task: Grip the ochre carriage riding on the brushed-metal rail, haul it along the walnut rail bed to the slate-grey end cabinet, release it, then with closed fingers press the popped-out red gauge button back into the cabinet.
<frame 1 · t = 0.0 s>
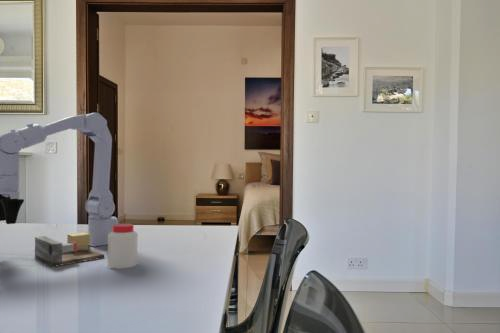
hand: (6, 222, 114), 10 cm above the table, fingers open, 7 cm apart
pill bottle: (122, 265, 108), on the table
carriage: (78, 241, 119), point 4 cm above the table, slide at -3.5 cm
gauge plunger: (66, 247, 109), point 4 cm above the table, slide at 0.0 cm
rail bed: (70, 257, 115), on the table
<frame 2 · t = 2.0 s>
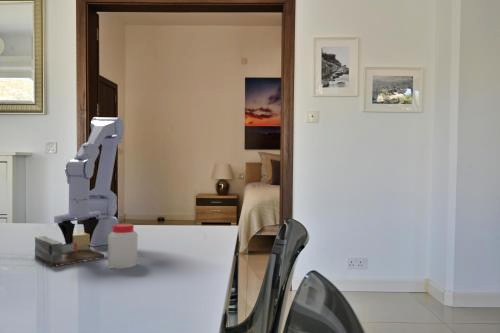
hand: (78, 244, 119), 3 cm above the table, fingers closed on carriage, 6 cm apart
carriage: (78, 241, 119), point 4 cm above the table, slide at -3.5 cm, touching gripper
everything else where it was.
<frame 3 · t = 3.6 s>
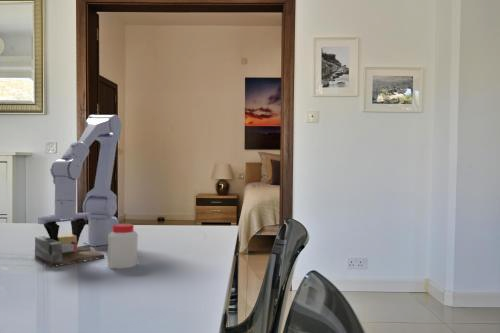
hand: (64, 246, 116), 3 cm above the table, fingers open, 5 cm apart
carriage: (65, 243, 116), point 4 cm above the table, slide at 0.4 cm, touching gripper
everything else where it was.
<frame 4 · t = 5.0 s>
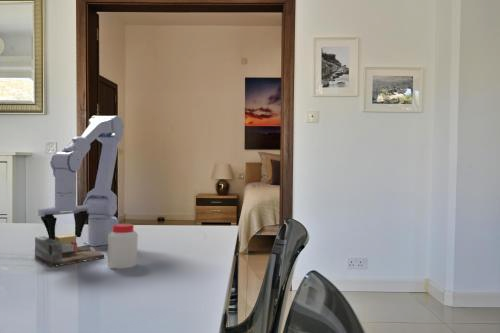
hand: (65, 238, 116), 5 cm above the table, fingers open, 7 cm apart
carriage: (64, 243, 116), point 4 cm above the table, slide at 0.5 cm
everything else where it was.
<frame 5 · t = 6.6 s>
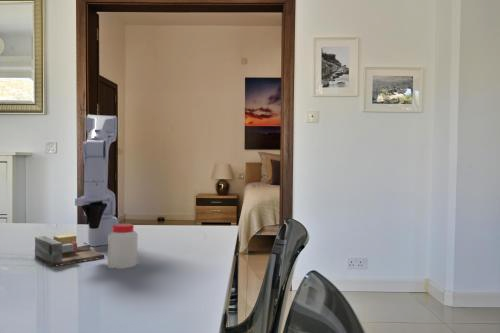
hand: (94, 228, 114), 9 cm above the table, fingers closed
nothing on the table moved.
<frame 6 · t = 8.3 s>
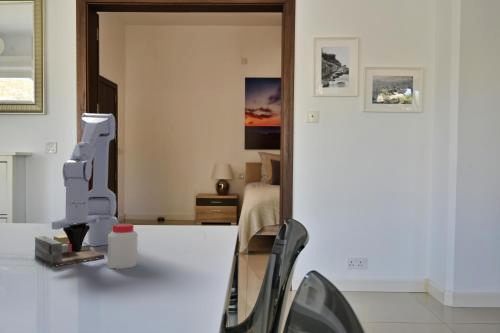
hand: (76, 251, 111), 3 cm above the table, fingers closed
gauge plunger: (61, 248, 108), point 4 cm above the table, slide at 1.5 cm, touching gripper
everything else where it was.
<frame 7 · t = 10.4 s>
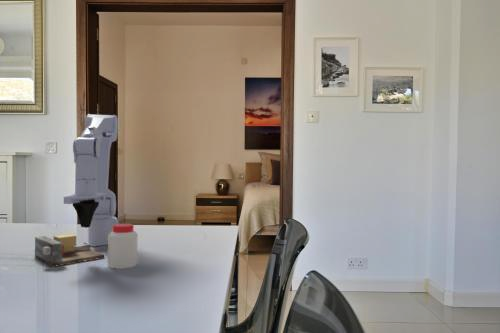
hand: (85, 227, 112), 9 cm above the table, fingers closed
gauge plunger: (53, 249, 106), point 4 cm above the table, slide at 3.5 cm, touching rail bed
everything else where it was.
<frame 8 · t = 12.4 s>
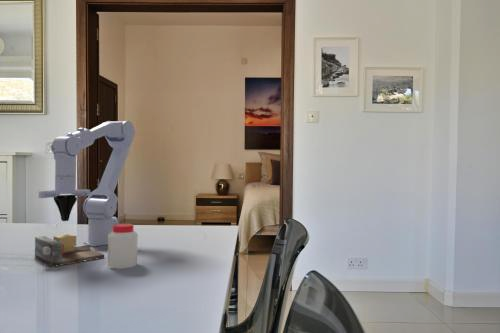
hand: (64, 220, 120), 10 cm above the table, fingers closed
nothing on the table moved.
at the end: carriage slide at 0.5 cm; gauge plunger slide at 3.5 cm; the gripper is holding nothing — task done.
